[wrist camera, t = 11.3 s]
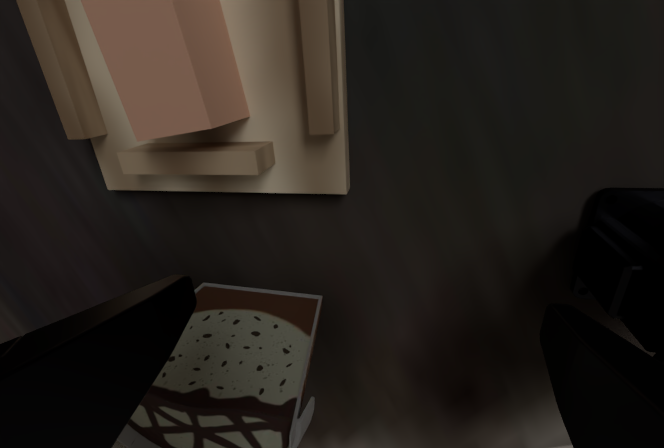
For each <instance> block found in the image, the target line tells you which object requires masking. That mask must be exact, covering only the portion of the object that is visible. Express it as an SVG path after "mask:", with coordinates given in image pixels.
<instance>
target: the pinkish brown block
mask: <svg viewBox="0 0 664 448" xmlns="http://www.w3.org/2000/svg"><path fill="white" fill-rule="evenodd" d="M81 3H82V5H83V8H84V10H85V13H86V15H87V18H88V20H89V23H90V25H91V28H92V30H93V33H94V35H95V38H96V40H97V43H98V45H99V48H100V50H101V53H102V55H103V58H104V60H105V63H106V65H107V68H108V70H109V72H110V75H111V77H112V80H113V82H114V85H115V87H116V90H117V92H118V95H119V97H120V100H121V102H122V105H123V107H124V110H125V112H126V115H127V117H128V120H129V122H130V125H131V127H132V130H133V132H134V135H135V137H136V140H137V142H139V141H145V140H150V139H156V138H162V137H167V136H173V135H179V134H184V133H190V132H196V131H201V130H207V129H212V128H215V127H218V126H222V125H225V124H228V123H231V122H234V121H237V120H240V119H244V118H247V117H250V112H249V109H248V105H247V101H246V97H245V94H244V90H243V86H242V82H241V79H240V75H239V71H238V67H237V63H236V60H235V56H234V52H233V48H232V45H231V41H230V37H229V33H228V29H227V26H226V22H225V18H224V14H223V11H222V7H221V3H220V0H81Z"/></svg>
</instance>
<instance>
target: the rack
mask: <svg viewBox="0 0 664 448" xmlns="http://www.w3.org/2000/svg"><path fill="white" fill-rule="evenodd" d="M16 1H17V4H18V6H19V9H20V12H21V14H22V17H23V20H24V22H25V25H26V28H27V31H28V33H29V36H30V39H31V41H32V44H33V47H34V49H35V52H36V55H37V57H38V60H39V63H40V65H41V68H42V71H43V73H44V76H45V79H46V81H47V84H48V87H49V89H50V92H51V95H52V97H53V100H54V103H55V105H56V108H57V111H58V113H59V116H60V119H61V121H62V124H63V127H64V129H65V132H66V135H67V138H68V139H88V138H90V139H91V142H92V145H93V148H94V151H95V154H96V156H97V159H98V162H99V165H100V168H101V171H102V174H103V177H104V180H105V182H106V185H107V188H108V190H145V191H198V192H251V193H304V194H347V192H348V190H349V188H350V174H349V145H348V116H347V87H346V58H345V29H344V0H220V3H221V7H222V11H223V14H224V18H225V22H226V26H227V29H228V33H229V37H230V41H231V45H232V48H233V52H234V56H235V60H236V63H237V67H238V71H239V75H240V79H241V82H242V86H243V90H244V94H245V97H246V101H247V105H248V109H249V112H250V117H247V118H244V119H240V120H237V121H234V122H231V123H228V124H225V125H222V126H218V127H215V128H212V129H207V130H201V131H196V132H190V133H184V134H179V135H173V136H167V137H162V138H156V139H150V140H145V141H139V142H137V140H136V137H135V135H134V132H133V130H132V127H131V125H130V122H129V120H128V117H127V115H126V112H125V110H124V107H123V105H122V102H121V100H120V97H119V95H118V92H117V90H116V87H115V85H114V82H113V80H112V77H111V75H110V72H109V70H108V68H107V65H106V63H105V60H104V58H103V55H102V53H101V50H100V48H99V45H98V43H97V40H96V38H95V35H94V33H93V30H92V28H91V25H90V23H89V20H88V18H87V15H86V13H85V10H84V8H83V5H82V3H81V0H16Z"/></svg>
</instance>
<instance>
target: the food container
mask: <svg viewBox="0 0 664 448" xmlns="http://www.w3.org/2000/svg"><path fill="white" fill-rule="evenodd" d="M194 291H195V294H196V298H197V305H196V308H195V310H194V312H193V314H192V316H191V318H190V320H189V322H188V324H187V326H186V328H185V330H184V332H183V333H182V335H181V337H180V339H179V341H178V343H177V345H176V347H175V349H174V351H173V352H172V354H171V356H170V358H169V359H168V361H167V363H166V364H165V366H164V367H163V369H162V370H161V372H160V373H159V375H158V377H157V378H156V380H155V381H154V383H153V384H152V386H151V387H150V389H149V390H148V392H147V394H146V395H145V397H144V398H143V400H142V401H141V403H140V404H139V406H138V408H137V409H136V411H135V412H134V414H133V415H132V417H131V418H130V420H129V421H128V423H127V425H126V426H125V428H124V429H123V431H122V432H121V434H120V435H119V437H118V438H117V440H118V441H119V442H120V443H122V444H123V445H124V446H125V447H127V448H297V447H298V445H299V443H300V441H301V439H302V437H303V435H304V433H305V431H306V429H307V427H308V425H309V423H310V422H311V418H312V415H313V411H314V400H315V397H311V399H310V401H309V402H308V404H307V406H306V408H305V410H304V411H303V413H302V415H301V417H300V419H299V416H300V411H301V406H302V401H303V396H304V391H305V387H306V382H307V377H308V372H309V367H310V362H311V357H312V353H313V348H314V343H315V338H316V333H317V328H318V324H319V319H320V314H321V309H322V300H323V296H319V295H310V294H302V293H293V292H284V291H275V290H266V289H257V288H248V287H239V286H230V285H221V284H212V283H202V284H201V285H200V286H199V287H198V288H197V289H195V290H194Z"/></svg>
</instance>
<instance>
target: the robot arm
mask: <svg viewBox="0 0 664 448" xmlns="http://www.w3.org/2000/svg"><path fill="white" fill-rule="evenodd" d="M610 195H613V198H612V200H610V201H608V202H605V200H606V198H607V197H608V196H610ZM572 269H573V271H574V276H573V279H572V283H571V286H570V290H571V291H572V293H573V294H574V296H576V297H577V298H581V299H595V300H597V301H598V302H599V303H600V305H601V306H602V307H603V308H604V310H605V311H606V312H607V313H608V314H609V315H610V316H611V317H612V318H617V319H620V320H621V321H622V322H623V323H624V324H625V326H626V327H627V328H628V329H629V331H630V332H631V333H632V334H633V335H634V337H635V338H636V339H637V340H638V341H639V343H640V344H641V345H642V346H643V348H644V349H645V350H646V351H649V352H656V354H655V355H654V356H653V357H652V356H650V355H649V354H647V353H646V352H644V351H642V350H641V349H639V348H638V347H636V346H635V345H633V344H631V343H630V342H628V341H627V340H625V339H623V338H622V337H620V336H619V335H617V334H616V333H614V332H612V331H611V330H609V329H608V328H606V327H605V326H603V325H601V324H600V323H598V322H597V321H595V320H593V319H592V318H590V317H589V316H587V315H586V314H584V313H582V312H581V311H579V310H578V309H576V308H575V307H573V306H571V305H567V304H554V303H551V304H549V305H548V306H547V308H546V311H545V315H544V319H543V323H542V327H541V330H540V342H541V346H542V350H543V354H544V357H545V361H546V365H547V369H548V372H549V376H550V380H551V384H552V387H553V391H554V395H555V398H556V402H557V405H558V408H559V411H560V414H561V417H562V419H563V422H564V425H565V427H566V430H567V432H568V435H569V437H570V440H571V442H572V445H573V448H664V188H605V189H603V190H601V191H600V192H599V193H598V194H597V196H596V199H595V202H594V206H593V209H592V213H591V216H590V220H589V223H588V226H587V227H586V228H585V229H584V230H583V231H582V235H581V238H580V242H579V245H578V249H577V253H576V256H575V260H574V263H573V267H572ZM584 287H585V289H584V290H582V291H578V290H579V289H580V288H584ZM196 305H197V298H196V294H195V291H194V287H193V283H192V280H191V278H190V277H189V276H187V275H177V274H176V275H172V276H169V277H167V278H164V279H162V280H159V281H157V282H154V283H152V284H149V285H147V286H144V287H142V288H139V289H137V290H134V291H132V292H129V293H127V294H124V295H122V296H119V297H117V298H114V299H112V300H109V301H107V302H104V303H102V304H99V305H97V306H94V307H92V308H89V309H87V310H84V311H82V312H79V313H77V314H74V315H72V316H69V317H67V318H64V319H62V320H59V321H57V322H55V323H52V324H50V325H47V326H45V327H42V328H40V329H37V330H35V331H32V332H30V333H27V334H25V335H24V336H23V337H22V336H20V337H17V338H14V339H12V340H10V341H7V342H5V343H2V344H0V448H112V446H113V445H114V443H115V442H116V440H117V438H118V437H119V435H120V434H121V432H122V431H123V429H124V428H125V426H126V425H127V423H128V421H129V420H130V418H131V417H132V415H133V414H134V412H135V411H136V409H137V408H138V406H139V404H140V403H141V401H142V400H143V398H144V397H145V395H146V394H147V392H148V390H149V389H150V387H151V386H152V384H153V383H154V381H155V380H156V378H157V377H158V375H159V373H160V372H161V370H162V369H163V367H164V366H165V364H166V363H167V361H168V359H169V358H170V356H171V354H172V352H173V351H174V349H175V347H176V345H177V343H178V341H179V339H180V337H181V335H182V333H183V332H184V330H185V328H186V326H187V324H188V322H189V320H190V318H191V316H192V314H193V312H194V310H195V308H196Z"/></svg>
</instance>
